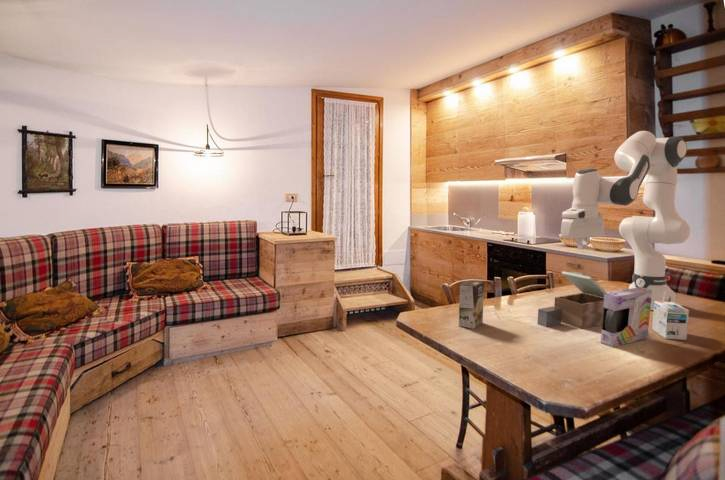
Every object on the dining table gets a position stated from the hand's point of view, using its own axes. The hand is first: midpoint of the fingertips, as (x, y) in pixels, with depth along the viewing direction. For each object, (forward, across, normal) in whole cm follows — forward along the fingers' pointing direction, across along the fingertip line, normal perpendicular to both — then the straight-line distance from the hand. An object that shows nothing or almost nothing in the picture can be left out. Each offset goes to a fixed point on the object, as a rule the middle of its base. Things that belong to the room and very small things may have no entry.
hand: (582, 249), depth 163 cm
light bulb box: (+29, -16, +24) cm, 41 cm away
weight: (+28, +12, -3) cm, 31 cm away
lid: (+15, -3, 0) cm, 15 cm away
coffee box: (+29, +39, -16) cm, 51 cm away
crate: (+28, -2, 0) cm, 28 cm away
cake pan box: (+29, +5, +21) cm, 36 cm away
